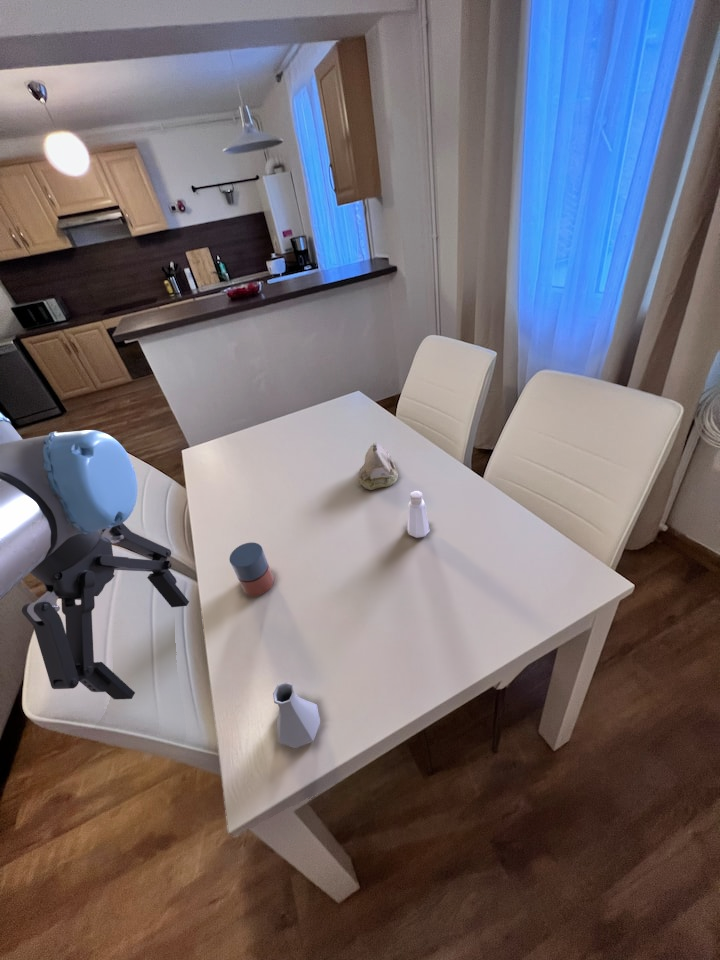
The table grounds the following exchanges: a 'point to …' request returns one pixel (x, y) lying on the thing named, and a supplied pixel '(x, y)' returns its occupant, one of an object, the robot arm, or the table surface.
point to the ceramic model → (377, 468)
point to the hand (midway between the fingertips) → (155, 645)
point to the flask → (295, 717)
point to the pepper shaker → (417, 516)
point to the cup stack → (252, 569)
